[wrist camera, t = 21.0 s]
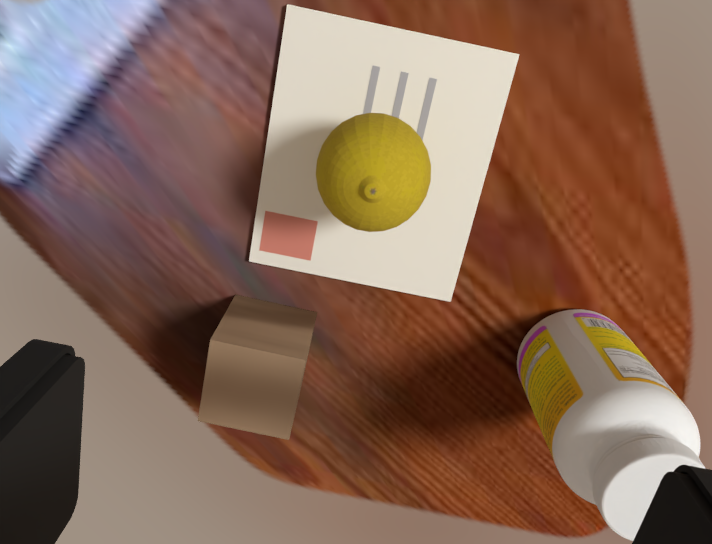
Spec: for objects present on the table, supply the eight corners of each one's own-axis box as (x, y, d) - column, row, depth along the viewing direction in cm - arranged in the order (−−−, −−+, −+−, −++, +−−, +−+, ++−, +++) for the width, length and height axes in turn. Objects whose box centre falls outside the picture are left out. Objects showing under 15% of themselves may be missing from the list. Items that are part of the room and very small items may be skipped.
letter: (287, 4, 32) (287, 4, 32) (518, 54, 32) (519, 54, 32) (249, 259, 37) (248, 261, 37) (449, 299, 37) (450, 302, 37)
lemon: (398, 222, 35) (403, 272, 28) (307, 181, 35) (287, 221, 27) (443, 131, 34) (461, 159, 26) (348, 86, 33) (339, 102, 25)
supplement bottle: (530, 414, 40) (595, 578, 28) (501, 325, 38) (557, 460, 26) (637, 383, 39) (751, 540, 27) (612, 290, 37) (726, 414, 25)
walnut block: (235, 294, 38) (210, 339, 32) (317, 311, 38) (306, 360, 32) (223, 365, 40) (197, 420, 34) (301, 382, 40) (289, 439, 34)
